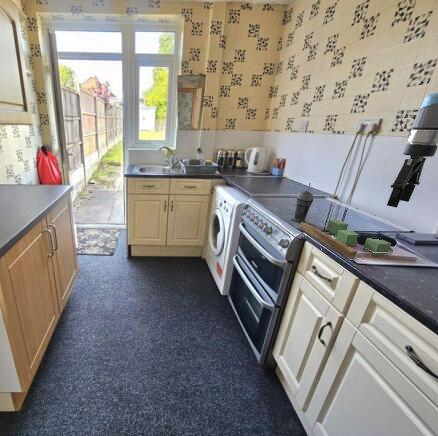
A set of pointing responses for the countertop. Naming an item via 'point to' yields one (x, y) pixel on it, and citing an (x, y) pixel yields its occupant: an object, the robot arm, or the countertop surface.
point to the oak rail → (329, 240)
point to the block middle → (347, 237)
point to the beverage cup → (303, 205)
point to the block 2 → (376, 246)
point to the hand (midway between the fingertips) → (397, 203)
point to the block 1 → (336, 226)
